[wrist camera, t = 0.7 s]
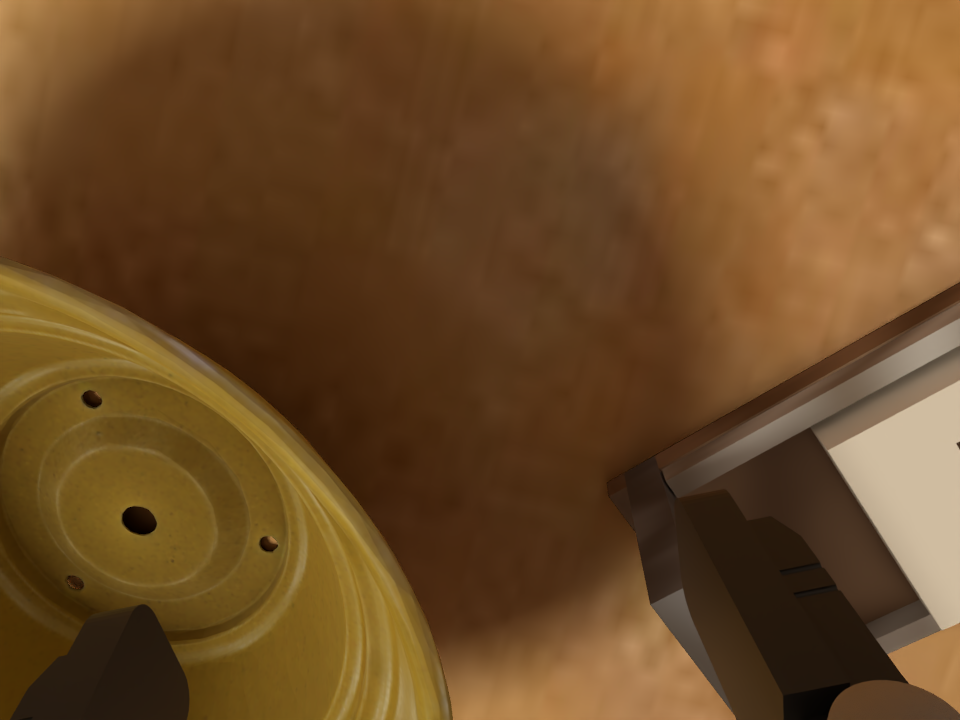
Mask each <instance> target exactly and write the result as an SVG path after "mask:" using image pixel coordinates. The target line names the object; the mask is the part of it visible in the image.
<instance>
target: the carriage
mask: <svg viewBox="0 0 960 720" xmlns="http://www.w3.org/2000/svg"><path fill="white" fill-rule="evenodd" d="M810 428H811V430H812V431H813V433H814V434H815V436H816V437H817V439H818V441H819V442H820V444H821V445H822V447H823V448H824V450H825V452H826V453H827V455H828V456H829V458H830V459H831V461H832V463H833V464H834V466H835V467H836V469H837V470H838V472H839V474H840V475H841V477H842V478H843V480H844V481H845V483H846V485H847V486H848V488H849V489H850V491H851V492H852V494H853V496H854V497H855V499H856V500H857V502H858V503H859V505H860V507H861V508H862V510H863V511H864V513H865V514H866V516H867V518H868V519H869V521H870V522H871V524H872V525H873V527H874V529H875V530H876V532H877V533H878V535H879V536H880V538H881V540H882V541H883V543H884V544H885V546H886V547H887V549H888V551H889V552H890V554H891V555H892V557H893V558H894V560H895V562H896V563H897V565H898V566H899V568H900V569H901V571H902V573H903V574H904V576H905V577H906V579H907V580H908V582H909V584H910V585H911V587H912V588H913V590H914V591H915V593H916V595H917V596H918V598H919V599H920V600H921V602H922V603H923V605H924V606H925V607H926V609H927V610H928V612H929V613H930V614H931V616H932V617H933V619H934V620H935V621H936V623H937V624H938V626H939V627H940V628H941V630H944V629H947V628H949V627H951V626H953V625H956V624H958V623H960V449H959V448H958V446H957V444H956V443H958V442H960V346H958V347H956V348H954V349H952V350H950V351H949V352H947V353H945V354H943V355H941V356H939V357H938V358H936V359H934V360H932V361H930V362H928V363H927V364H925V365H923V366H921V367H919V368H917V369H916V370H914V371H912V372H910V373H908V374H906V375H905V376H903V377H901V378H899V379H897V380H895V381H894V382H892V383H890V384H888V385H886V386H884V387H882V388H881V389H879V390H877V391H875V392H873V393H871V394H870V395H868V396H866V397H864V398H862V399H860V400H859V401H857V402H855V403H853V404H851V405H849V406H848V407H846V408H844V409H842V410H840V411H838V412H837V413H835V414H833V415H831V416H829V417H827V418H826V419H824V420H822V421H820V422H818V423H816V424H814V425H813V426H811V427H810Z"/></svg>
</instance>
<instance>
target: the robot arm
mask: <svg viewBox="0 0 960 720" xmlns="http://www.w3.org/2000/svg"><path fill="white" fill-rule="evenodd" d="M674 512H675V522H676V533H677V543H678V553H679V563H680V573H681V581H682V586H683V591H684V595H685V599H686V603H687V606H688V609H689V612H690V615H691V618H692V620H693V623H694V625H695V627H696V629H697V632H698V634H699V636H700V638H701V641H702V643H703V645H704V647H705V650H706V652H707V654H708V656H709V659H710V661H711V663H712V665H713V668H714V670H715V672H716V674H717V677H718V679H719V681H720V683H721V686H722V688H723V690H724V692H725V695H726V697H727V699H728V701H729V704H730V706H731V708H732V710H733V713H734V715H735V717H736V719H737V720H960V714H959V713H958V712H957V711H956V710H955V709H954V708H953V707H951V706H950V705H949V704H948V703H946V702H945V701H944V700H942V699H940V698H939V697H937V696H936V695H934V694H932V693H930V692H928V691H926V690H924V689H922V688H919V687H916V686H913V685H910V684H909V683H908V682H907V681H906V679H905V678H904V677H903V676H902V675H901V673H900V672H899V670H898V669H897V668H896V666H895V665H894V664H893V662H892V661H891V659H890V658H889V657H888V655H887V654H886V652H885V651H884V650H883V648H882V647H881V646H880V644H879V643H878V641H877V640H876V639H875V637H874V636H873V634H872V633H871V632H870V630H869V629H868V628H867V626H866V625H865V623H864V622H863V621H862V619H861V618H860V616H859V615H858V614H857V612H856V611H855V610H854V608H853V607H852V605H851V604H850V603H849V601H848V600H847V598H846V597H845V596H844V594H843V593H842V592H841V590H838V589H837V586H836V583H835V582H834V580H833V579H832V578H831V576H830V575H829V574H828V572H827V571H826V569H825V568H822V567H821V564H820V561H819V560H818V558H817V557H816V556H815V554H814V553H813V551H812V550H811V549H810V547H809V546H808V544H807V543H806V542H805V540H804V539H803V538H802V536H801V535H799V534H798V533H796V532H795V531H793V530H792V529H790V528H788V527H787V526H785V525H784V524H782V523H781V522H779V521H778V520H776V519H775V518H773V517H772V516H768V517H763V518H758V519H753V520H748V521H747V520H746V518H745V516H744V515H743V513H742V512H741V510H740V509H739V507H738V506H737V504H736V502H735V501H734V499H733V498H732V496H731V495H730V493H729V492H728V491H727V490H725V489H721V490H716V491H711V492H706V493H701V494H696V495H691V496H686V497H681V498H676V499H675V502H674ZM189 700H190V698H189V687H188V682H187V678H186V676H185V673H184V671H183V669H182V667H181V665H180V663H179V661H178V659H177V657H176V655H175V653H174V651H173V649H172V647H171V645H170V643H169V641H168V639H167V637H166V635H165V633H164V631H163V629H162V627H161V625H160V623H159V621H158V619H157V617H156V615H155V613H154V612H153V610H152V609H151V608H150V607H149V606H147V605H145V604H141V605H136V606H131V607H126V608H121V609H116V610H111V611H106V612H101V613H96V614H93V615H91V616H90V617H89V618H88V619H87V620H86V621H85V623H84V624H83V626H82V628H81V630H80V632H79V634H78V635H77V637H76V639H75V641H74V643H73V645H72V646H71V648H70V650H69V652H68V654H67V655H64V656H59V657H58V658H57V659H56V660H55V661H54V662H53V663H52V664H51V665H50V666H49V667H48V668H47V669H46V670H45V671H44V672H43V673H42V674H41V675H40V676H39V677H38V678H37V679H36V680H35V681H34V682H33V683H32V685H31V686H30V687H29V688H28V689H27V691H26V693H25V694H24V696H23V698H22V699H21V701H20V703H19V705H18V706H17V708H16V710H15V712H14V713H13V715H12V717H11V718H10V720H187V717H188V712H189Z"/></svg>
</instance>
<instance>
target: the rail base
mask: <svg viewBox="0 0 960 720" xmlns="http://www.w3.org/2000/svg"><path fill="white" fill-rule="evenodd" d="M958 346H960V283H959V284H957V285H955V286H953V287H952V288H950V289H948V290H946V291H944V292H943V293H941V294H939V295H937V296H936V297H934V298H932V299H930V300H929V301H927V302H925V303H923V304H922V305H920V306H918V307H916V308H914V309H913V310H911V311H909V312H907V313H906V314H904V315H902V316H900V317H899V318H897V319H895V320H893V321H892V322H890V323H888V324H886V325H884V326H883V327H881V328H879V329H877V330H876V331H874V332H872V333H870V334H869V335H867V336H865V337H863V338H862V339H860V340H858V341H856V342H854V343H853V344H851V345H849V346H847V347H846V348H844V349H842V350H840V351H839V352H837V353H835V354H833V355H832V356H830V357H828V358H826V359H824V360H823V361H821V362H819V363H817V364H816V365H814V366H812V367H810V368H809V369H807V370H805V371H803V372H802V373H800V374H798V375H796V376H794V377H793V378H791V379H789V380H787V381H786V382H784V383H782V384H780V385H779V386H777V387H775V388H773V389H772V390H770V391H768V392H766V393H764V394H763V395H761V396H759V397H757V398H756V399H754V400H752V401H750V402H749V403H747V404H745V405H743V406H742V407H740V408H738V409H736V410H734V411H733V412H731V413H729V414H727V415H726V416H724V417H722V418H720V419H719V420H717V421H715V422H713V423H712V424H710V425H708V426H706V427H704V428H703V429H701V430H699V431H697V432H696V433H694V434H692V435H690V436H689V437H687V438H685V439H683V440H682V441H680V442H678V443H676V444H674V445H673V446H671V447H669V448H667V449H666V450H664V451H662V452H660V453H659V454H657V455H655V456H653V457H652V458H650V459H648V460H646V461H644V462H643V463H641V464H639V465H637V466H636V467H634V468H632V469H630V470H629V471H627V472H625V473H623V474H622V475H620V476H618V477H616V478H614V479H613V480H611V481H609V482H607V488H608V494H609V498H610V499H611V500H612V502H613V503H614V504H615V506H616V507H617V508H618V510H619V511H620V512H621V514H622V515H623V516H624V518H625V519H626V520H627V522H628V523H629V524H630V526H631V527H632V528H633V530H634V531H635V533H636V536H637V541H638V546H639V551H640V556H641V561H642V566H643V571H644V576H645V580H646V585H647V590H648V595H649V600H650V605H651V606H652V607H653V609H654V610H655V611H656V613H657V614H658V615H659V617H660V618H661V619H662V621H663V622H664V623H665V625H666V626H667V627H668V628H669V630H670V631H671V632H672V634H673V635H674V636H675V638H676V639H677V640H678V642H679V643H680V644H681V646H682V647H683V648H684V649H685V651H686V652H687V653H688V655H689V656H690V657H691V659H692V660H693V661H694V663H695V664H696V665H697V666H698V668H699V669H700V670H701V672H702V673H703V674H704V676H705V677H706V678H707V680H708V681H709V682H710V684H711V685H712V686H713V687H714V689H715V690H716V691H717V693H718V694H719V695H720V697H721V698H722V699H723V701H724V702H725V703H726V705H727V706H728V707H729V708H730V710H731V711H732V712H733V710H732V708H731V706H730V704H729V701H728V699H727V697H726V695H725V692H724V690H723V688H722V686H721V683H720V681H719V679H718V677H717V674H716V672H715V670H714V668H713V665H712V663H711V661H710V659H709V656H708V654H707V652H706V650H705V647H704V645H703V643H702V641H701V638H700V636H699V634H698V632H697V629H696V627H695V625H694V623H693V620H692V618H691V615H690V612H689V609H688V606H687V603H686V599H685V595H684V591H683V586H682V581H681V573H680V563H679V553H678V543H677V533H676V522H675V512H674V502H675V499H676V498H681V497H686V496H691V495H696V494H701V493H706V492H711V491H716V490H721V489H725V490H727V491H728V492H729V493H730V495H731V496H732V498H733V499H734V501H735V502H736V504H737V506H738V507H739V509H740V510H741V512H742V513H743V515H744V516H745V518H746V520H747V521H748V520H753V519H758V518H763V517H768V516H772V517H773V518H775V519H776V520H778V521H779V522H781V523H782V524H784V525H785V526H787V527H788V528H790V529H792V530H793V531H795V532H796V533H798V534H799V535H801V536H802V538H803V539H804V540H805V542H806V543H807V544H808V546H809V547H810V549H811V550H812V551H813V553H814V554H815V556H816V557H817V558H818V560H819V561H820V564H821V567H822V568H825V569H826V571H827V572H828V574H829V575H830V576H831V578H832V579H833V580H834V582H835V583H836V586H837V589H838V590H841V592H842V593H843V594H844V596H845V597H846V598H847V600H848V601H849V603H850V604H851V605H852V607H853V608H854V610H855V611H856V612H857V614H858V615H859V616H860V618H861V619H862V621H863V622H864V623H865V625H866V626H867V628H868V629H869V630H870V632H871V633H872V634H873V636H874V637H875V639H876V640H877V641H878V643H879V644H880V646H881V647H882V648H883V650H884V651H885V652H886V654H889V653H891V652H893V651H895V650H898V649H900V648H902V647H904V646H907V645H909V644H911V643H913V642H916V641H918V640H920V639H922V638H925V637H927V636H929V635H931V634H934V633H936V632H938V631H940V630H941V628H940V627H939V626H938V624H937V623H936V621H935V620H934V619H933V617H932V616H931V614H930V613H929V612H928V610H927V609H926V607H925V606H924V605H923V603H922V602H921V600H920V599H919V598H918V596H917V595H916V593H915V591H914V590H913V588H912V587H911V585H910V584H909V582H908V580H907V579H906V577H905V576H904V574H903V573H902V571H901V569H900V568H899V566H898V565H897V563H896V562H895V560H894V558H893V557H892V555H891V554H890V552H889V551H888V549H887V547H886V546H885V544H884V543H883V541H882V540H881V538H880V536H879V535H878V533H877V532H876V530H875V529H874V527H873V525H872V524H871V522H870V521H869V519H868V518H867V516H866V514H865V513H864V511H863V510H862V508H861V507H860V505H859V503H858V502H857V500H856V499H855V497H854V496H853V494H852V492H851V491H850V489H849V488H848V486H847V485H846V483H845V481H844V480H843V478H842V477H841V475H840V474H839V472H838V470H837V469H836V467H835V466H834V464H833V463H832V461H831V459H830V458H829V456H828V455H827V453H826V452H825V450H824V448H823V447H822V445H821V444H820V442H819V441H818V439H817V437H816V436H815V434H814V433H813V431H812V430H811V428H810V427H811V426H813V425H814V424H816V423H818V422H820V421H822V420H824V419H826V418H827V417H829V416H831V415H833V414H835V413H837V412H838V411H840V410H842V409H844V408H846V407H848V406H849V405H851V404H853V403H855V402H857V401H859V400H860V399H862V398H864V397H866V396H868V395H870V394H871V393H873V392H875V391H877V390H879V389H881V388H882V387H884V386H886V385H888V384H890V383H892V382H894V381H895V380H897V379H899V378H901V377H903V376H905V375H906V374H908V373H910V372H912V371H914V370H916V369H917V368H919V367H921V366H923V365H925V364H927V363H928V362H930V361H932V360H934V359H936V358H938V357H939V356H941V355H943V354H945V353H947V352H949V351H950V350H952V349H954V348H956V347H958ZM956 444H957V446H958V448H959V449H960V442H958V443H956ZM733 714H734V713H733Z"/></svg>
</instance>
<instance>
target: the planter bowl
mask: <svg viewBox="0 0 960 720" xmlns="http://www.w3.org/2000/svg"><path fill="white" fill-rule="evenodd" d="M88 390H92V391H95V392H97V393H98V394H99V395H100V396H101V399H102V404H101V405H99V406H98V407H92V406H90V405H88V404H87V403H86V402H85V401H84V399H83V394H84V392H86V391H88ZM132 506H138V507H144V508H146V509H148V510H149V511H150V512H151V513H152V514H153V515H154V517H155V519H156V521H157V526H156V529H155V530H154V531H152V532H151V533H149V534H137V533H135V532H132V531H130V530H129V529H128V528H127V527H126V526H125V525H124V523H123V521H122V520H123V513H124V511H125V510H126V509H127V508H129V507H132ZM264 536H272V537H273V538H274V539H275V540H276V541H277V543H278V547H277V548H276V549H275V550H274V551H272V552H270V551H265V550H264V549H263V548H262V547H261V545H260V540H261V539H262V537H264ZM70 575H75V576H77V577H79V578H80V579H81V580H82V581H83V582H84V587H83V588H82V589H74V588H72V587H70V585H69V584H68V582H67V578H68V576H70ZM141 604H145V605H147V606H149V607H150V608H151V609H152V610H153V612H154V613H155V615H156V617H157V619H158V621H159V623H160V625H161V627H162V629H163V631H164V633H165V635H166V637H167V639H168V641H169V643H170V645H171V647H172V649H173V651H174V653H175V655H176V657H177V659H178V661H179V663H180V665H181V667H182V669H183V671H184V673H185V676H186V678H187V682H188V687H189V698H190V700H189V712H188V717H187V720H453V717H452V708H451V701H450V696H449V692H448V687H447V684H446V680H445V676H444V672H443V668H442V664H441V660H440V657H439V654H438V651H437V648H436V645H435V642H434V639H433V636H432V633H431V630H430V627H429V624H428V621H427V619H426V617H425V615H424V613H423V610H422V608H421V606H420V604H419V602H418V600H417V598H416V596H415V594H414V592H413V589H412V587H411V585H410V584H409V582H408V580H407V578H406V576H405V574H404V572H403V570H402V568H401V566H400V565H399V563H398V561H397V559H396V557H395V555H394V553H393V551H392V550H391V548H390V547H389V545H388V544H387V542H386V541H385V539H384V538H383V536H382V534H381V533H380V532H379V530H378V529H377V527H376V526H375V525H374V523H373V522H372V520H371V519H370V518H369V516H368V515H367V514H366V512H365V511H364V509H363V508H362V507H361V505H360V504H359V502H358V501H357V500H356V499H355V497H354V496H353V495H352V494H351V492H350V491H349V490H348V489H347V488H346V486H345V485H344V484H343V483H342V482H341V480H340V479H339V478H338V477H337V476H336V475H335V474H334V472H333V471H332V469H331V468H330V467H329V466H328V465H327V463H326V462H325V461H324V460H323V459H322V457H321V456H320V455H319V454H318V453H317V452H316V450H315V449H314V448H313V447H312V446H311V445H310V443H309V442H308V441H307V440H306V439H305V437H304V436H303V435H302V434H301V433H300V432H299V431H298V430H297V429H296V428H295V427H294V426H293V425H292V424H291V423H290V422H289V421H288V420H287V419H286V418H285V417H284V416H283V415H281V414H280V413H279V412H278V411H277V410H276V409H275V408H274V407H273V406H271V405H270V404H269V403H268V402H267V401H266V400H265V399H264V398H263V397H261V396H260V395H259V394H258V393H257V392H255V391H254V390H253V389H252V388H250V387H249V386H248V385H247V384H245V383H244V382H243V381H241V380H240V379H239V378H237V377H236V376H235V375H234V374H232V373H231V372H230V371H228V370H227V369H225V368H224V367H222V366H221V365H219V364H218V363H216V362H215V361H213V360H212V359H210V358H209V357H207V356H205V355H204V354H202V353H201V352H199V351H197V350H196V349H194V348H192V347H191V346H189V345H188V344H186V343H184V342H183V341H181V340H179V339H178V338H176V337H174V336H172V335H170V334H169V333H167V332H165V331H163V330H162V329H160V328H158V327H156V326H155V325H153V324H151V323H150V322H148V321H146V320H144V319H143V318H141V317H139V316H137V315H136V314H134V313H132V312H130V311H129V310H127V309H125V308H123V307H121V306H119V305H117V304H115V303H113V302H111V301H108V300H106V299H104V298H102V297H100V296H98V295H95V294H93V293H91V292H89V291H87V290H84V289H82V288H80V287H78V286H76V285H74V284H71V283H69V282H67V281H65V280H63V279H60V278H58V277H56V276H54V275H52V274H49V273H46V272H43V271H41V270H38V269H35V268H32V267H30V266H27V265H24V264H21V263H19V262H16V261H13V260H10V259H7V258H4V257H1V256H0V720H10V718H11V717H12V715H13V713H14V712H15V710H16V708H17V706H18V705H19V703H20V701H21V699H22V698H23V696H24V694H25V693H26V691H27V689H28V688H29V687H30V686H31V685H32V683H33V682H34V681H35V680H36V679H37V678H38V677H39V676H40V675H41V674H42V673H43V672H44V671H45V670H46V669H47V668H48V667H49V666H50V665H51V664H52V663H53V662H54V661H55V660H56V659H57V658H58V657H59V656H64V655H67V654H68V652H69V650H70V648H71V646H72V645H73V643H74V641H75V639H76V637H77V635H78V634H79V632H80V630H81V628H82V626H83V624H84V623H85V621H86V620H87V619H88V618H89V617H90V616H91V615H93V614H96V613H101V612H106V611H111V610H116V609H121V608H126V607H131V606H136V605H141Z"/></svg>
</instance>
